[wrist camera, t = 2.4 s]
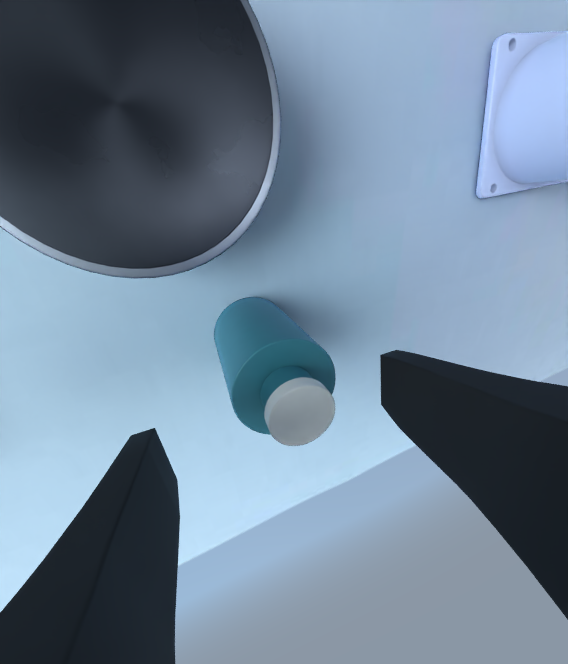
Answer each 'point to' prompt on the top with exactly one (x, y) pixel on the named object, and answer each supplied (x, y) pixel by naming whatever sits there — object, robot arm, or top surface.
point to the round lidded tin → (134, 130)
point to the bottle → (274, 372)
